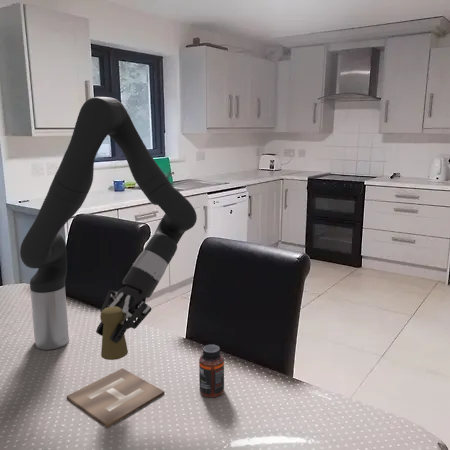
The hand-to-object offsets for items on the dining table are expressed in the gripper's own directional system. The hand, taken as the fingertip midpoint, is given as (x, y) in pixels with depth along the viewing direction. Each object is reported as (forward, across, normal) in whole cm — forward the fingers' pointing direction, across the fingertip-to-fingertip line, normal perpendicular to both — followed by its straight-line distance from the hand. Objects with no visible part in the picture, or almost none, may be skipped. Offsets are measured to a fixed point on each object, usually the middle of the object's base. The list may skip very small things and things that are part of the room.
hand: (106, 337), depth 98 cm
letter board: (+10, 0, +12) cm, 16 cm away
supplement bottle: (-1, +16, +24) cm, 29 cm away
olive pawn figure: (+2, 0, +5) cm, 5 cm away
